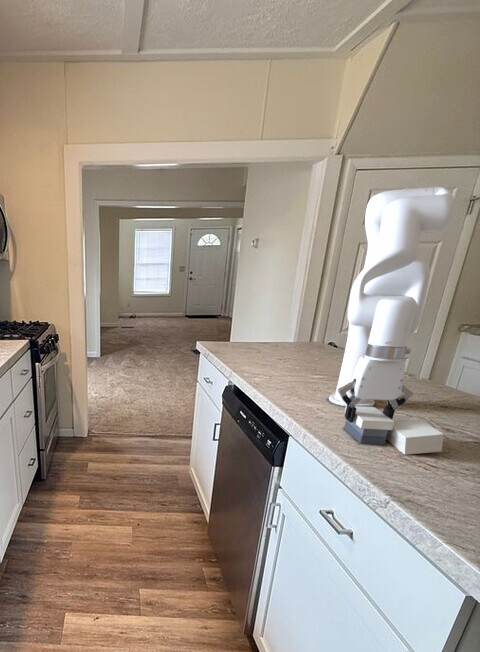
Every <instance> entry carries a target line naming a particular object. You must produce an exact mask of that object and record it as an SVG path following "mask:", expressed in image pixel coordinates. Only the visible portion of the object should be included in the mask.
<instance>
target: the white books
mask: <svg viewBox="0 0 480 652" xmlns="http://www.w3.org/2000/svg"><path fill="white" fill-rule="evenodd" d="M392 420H393V421H394V422H395V423H394V426H393V430H388V433H387V436H386V437H387V438H386V441H387V442H389V444H391V445H392V446H393V447H395V448H396V449H397V450H398V451H399V452H400V453H402V454H403V455H405V456H406V455H416V454H430V453H441V452H443V446H444V445H443V444H444V433H443V432H441V430H438V429H437V428H435V427H433V426H432V425H430V424H428V423H427V422H425V421H424V420H422V419H420V418H419V417H411V418H409V417H407V418H401V419H400V418H399V419H392Z"/></svg>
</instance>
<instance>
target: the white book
mask: <svg viewBox="0 0 480 652" xmlns="http://www.w3.org/2000/svg"><path fill="white" fill-rule="evenodd" d="M346 407H347V406H346ZM346 407H345V409H344V415H345V412H346ZM355 408H356V413H355V417H354V421H353V422H354V423H355V424H356V425H358V426H359V427H360V428H362V429H381V430H393V426H394V423H395V422H394V421H393V420H394V419H390V418H389V417H387V416H386V415H385V414H383V411H381V410H379V409H378V408H377V407H375V406H372V407H356V406H355Z"/></svg>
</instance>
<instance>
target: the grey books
mask: <svg viewBox="0 0 480 652" xmlns="http://www.w3.org/2000/svg"><path fill="white" fill-rule="evenodd" d="M343 428H344V429H345V431H347V432H348V433H349V434H350V435H351V436H352V437H353V438H354V439H355V440H356V441H357V442H358V443H359V444H365V445H380V446H384V445H385V444H386V441H387V440H386V438H387V437H386V436H387V433H388V430H381V429H362V428H360V427H359V426H358V425H356V424H355V423H354V422H352V423H351V422H349V421H347V420H345V422H344V427H343Z"/></svg>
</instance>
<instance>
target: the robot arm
mask: <svg viewBox="0 0 480 652" xmlns="http://www.w3.org/2000/svg"><path fill="white" fill-rule="evenodd" d="M455 211H456V201H455V197H454V195H453V194H452V192H451V191H450V190H449V189H448V188H446V187H444V186H431V187H418V188H417V187H416V188H403V189H402V188H401V189H391V190H386V191H382V192H379V193H377V194H374V195H373V196H372V197H371V198H370V199H369V201H368V203H367V205H366V209H365V215H364V229H365V234H366V240H367V250H366V255H365V260H364V261H365V262H364V266H363V269H362V270H361V271H360V272H359V274H358V275H357V277H355V279H354V282H353V284H352V286H351V290H350V295H349V300H348V308H347V316H346V317H347V321H348V329H347V330H348V331H347V338H346V339H347V340H346V343H345V349H344V352H343V353H344V354H343V359H342V363H341V368H340V372H339V375H338V376H339V377H338V381H337V386H336V389H335V393H333V394H331V395H329V396H328V400H329V402H331V403H332V404H335V405H337V406H342V407H345V409H346V412H345V411H344V413H345V414H344V418H345V421H349V422H351V423H352V422H353V421H354V417H355V413H356V408H355V406H356V407H375V400H377V401H378V400H380V401H385V402H386V405H384V407H383V410H382V413H383V414H385V415H386V416H387V417H389V418H390V419H392V420H394V416H395V412H396V410H397V409H399V408H400V406H402V405H403V404H405V403H406V402H407V401H408V400H409V399H410V398H411V397H413V396H414V393H413V391H411V390H410V388H408V387H406V386H405V384H404V380H405V374H406V359H405V356H406V355H410V354H411V352H412V348H410V347H408V346H407V345H408V341H409V337H410V335H411V334H413V333H414V332H415V331H416V330H417V329H418V327H419V326H420V323H421V318H422V315H423V310H424V305H425V302H426V301H425V300H426V296H427V292H428V287H429V282H430V276H431V269H430V266H429V264H428V263H427V262H425V261H422V260H416V259H417V258H418V254H419V246H420V239H421V234H437V233H442V232H443V231H445V230H446V229H448V228H449V226H450V225H451V224H452V220H453V219H454V215H455ZM346 406H347V407H346Z"/></svg>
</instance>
